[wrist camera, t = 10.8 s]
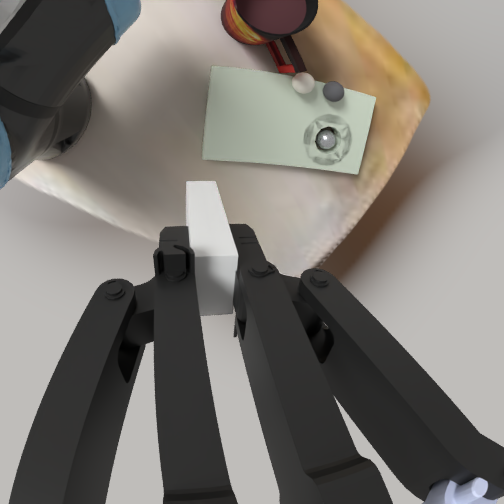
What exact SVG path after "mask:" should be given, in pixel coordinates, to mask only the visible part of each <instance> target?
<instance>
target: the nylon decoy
mask: <svg viewBox="0 0 504 504" xmlns="http://www.w3.org/2000/svg"><path fill="white" fill-rule="evenodd" d="M292 86H293V88H294V89H295V90H296V91H297V92H299V93H302V94H306V93H309V92H311V91H312V90H313V88H314V86H315V81H314V78H313V77H312V76H311V75H310V74H308V73H304V72H301V73H298V74H296V75H295V76H294V77H293V79H292Z"/></svg>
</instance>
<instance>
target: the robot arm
mask: <svg viewBox="0 0 504 504" xmlns="http://www.w3.org/2000/svg"><path fill="white" fill-rule="evenodd" d="M140 11H141V1H140V0H0V189H1V188H3V187H4V186H5V184H6V183H7V182H8V181H9V180H10V179H12V178H13V177H14V176H15V175H17V174H18V173H19V172H20V171H22V170H23V169H24V168H25V167H27V166H28V165H29V164H30V163H32V162H33V161H34V160H47V159H52V158H55V157H57V156H59V155H61V154H63V153H64V152H66V151H67V150H68V149H70V148H71V147H72V146H73V145H74V144H75V143H76V142H77V141H78V140H79V139H80V137H81V136H82V135H83V133H84V131H85V129H86V127H87V124H88V122H89V118H90V113H91V95H90V91H89V88H88V85H87V83H86V81H85V79H84V77H85V75H86V74H87V73H88V72H89V71H90V69H91V68H92V67H93V66H94V65H95V64H96V62H97V61H98V60H99V59H100V58H101V57H102V56H103V55H104V53H105V52H106V51H107V50H108V49H109V48H110V47H111V46H112V45H115V44H117V43H118V41H119V39H120V37H121V36H122V35H123V33H124V32H125V31H126V30H127V29H128V28H129V27H130V26H131V25H132V24H133V23H134V22H135V21H136V20H137V18H138V17H139V15H140ZM153 258H154V268H155V277H153V278H152V279H151V280H150V281H148V282H146V283H144V284H141V285H137V286H133V284H132V283H130V282H129V281H127V280H124V279H111V280H108V281H106V282H104V283H102V284H101V285H100V286H99V287H98V288H97V290H96V291H95V293H94V295H93V297H92V298H91V300H90V302H89V304H88V306H87V307H86V309H85V311H84V313H83V315H82V316H81V319H80V320H79V322H78V324H77V326H76V328H75V330H74V332H73V334H72V336H71V338H70V340H69V342H68V344H67V346H66V348H65V350H64V352H63V354H62V356H61V359H60V360H59V362H58V365H57V367H56V369H55V371H54V373H53V375H52V378H51V380H50V382H49V385H48V387H47V389H46V391H45V394H44V396H43V399H42V401H41V404H40V406H39V408H38V411H37V414H36V416H35V419H34V421H33V424H32V427H31V430H30V432H29V435H28V438H27V441H26V444H25V447H24V450H23V453H22V456H21V460H20V463H19V466H18V469H17V473H16V477H15V480H14V484H13V488H12V492H11V496H10V500H9V504H105V502H106V496H107V492H108V487H109V481H110V477H111V472H112V467H113V464H114V459H115V455H116V450H117V446H118V442H119V438H120V434H121V430H122V426H123V422H124V419H125V415H126V411H127V407H128V404H129V400H130V397H131V393H132V389H133V386H134V383H135V379H136V376H137V372H138V369H139V366H140V362H141V359H142V356H143V353H144V350H145V344H147V343H150V342H153V341H154V378H155V401H156V418H157V430H158V431H157V432H158V443H159V453H160V462H161V471H162V479H163V487H164V497H163V504H238V503H237V500H236V497H235V494H234V492H233V490H232V487H231V483H230V479H229V475H228V471H227V466H226V462H225V457H224V452H223V448H222V443H221V438H220V433H219V428H218V423H217V417H216V412H215V407H214V402H213V396H212V390H211V384H210V378H209V372H208V366H207V360H206V353H205V347H204V340H203V333H202V326H201V319H200V316H207V315H222V314H232V313H233V306H234V308H235V312H236V317H235V327H234V337H236V336H237V334H238V338H239V342H240V347H241V350H242V354H243V359H244V363H245V367H246V371H247V375H248V378H249V382H250V386H251V390H252V394H253V398H254V401H255V405H256V409H257V413H258V417H259V420H260V424H261V428H262V431H263V435H264V439H265V442H266V446H267V449H268V453H269V456H270V460H271V463H272V467H273V470H274V474H275V477H276V481H277V484H278V488H279V493H280V504H393V503H392V500H391V498H390V495H389V493H388V490H387V488H386V486H385V483H384V481H383V479H382V476H381V474H380V472H379V470H378V468H377V467H376V465H375V464H374V463H373V462H372V461H371V460H370V459H367V458H364V457H362V456H361V455H360V454H359V453H358V452H357V450H356V447H355V445H354V443H353V440H352V438H351V436H350V433H349V431H348V428H347V426H346V424H345V421H344V419H343V417H342V414H341V412H340V410H339V407H338V405H337V403H336V400H335V398H336V399H337V400H338V402H339V403H340V404H341V406H342V407H343V408H344V410H345V411H346V412H347V414H348V415H349V416H350V418H351V419H352V420H353V422H354V423H355V424H356V426H357V427H358V428H359V430H360V431H361V432H362V433H363V435H364V436H365V437H366V438H367V440H368V441H369V442H370V444H371V445H372V446H373V448H374V449H375V450H376V452H377V453H378V454H379V456H380V457H381V458H382V459H383V460H384V462H385V463H386V465H387V466H388V467H389V468H390V470H391V471H392V472H393V474H394V475H395V476H396V477H397V479H398V480H399V481H400V482H401V483H402V484H403V485H404V487H405V488H406V489H408V490H409V491H410V492H411V493H412V494H414V495H415V496H416V497H418V498H419V499H421V500H422V501H424V502H423V503H422V504H496V503H497V500H498V498H500V497H502V496H504V447H502V446H500V445H499V444H497V443H495V442H494V441H492V440H490V439H488V438H487V437H485V436H484V435H482V434H480V433H479V432H478V430H476V428H475V427H474V426H473V425H472V423H471V422H470V421H469V420H468V419H467V418H466V416H465V415H464V414H463V413H462V412H461V411H460V410H459V408H458V407H457V406H456V405H455V404H454V403H453V401H451V399H450V398H449V397H448V396H447V395H446V394H445V393H444V391H443V390H442V389H441V388H440V387H439V386H438V385H437V383H436V382H435V381H434V380H433V379H432V378H431V377H430V376H429V375H428V374H427V372H426V371H425V370H424V369H423V368H422V367H421V366H420V365H419V364H418V363H417V362H416V361H415V359H414V358H413V357H412V356H411V355H410V354H409V353H408V352H407V351H406V350H405V349H404V348H403V347H402V345H401V344H399V342H398V341H397V340H396V339H395V338H394V337H393V336H392V335H391V334H390V333H389V332H388V331H387V330H386V329H385V328H384V327H383V326H382V325H381V323H380V322H379V321H378V320H377V319H376V318H375V317H374V316H373V315H372V314H371V313H370V312H369V311H368V310H367V309H366V308H365V307H364V306H363V305H362V304H361V303H360V302H359V301H358V300H357V299H356V298H355V297H354V296H353V295H352V294H351V293H350V292H349V291H348V290H347V289H346V288H345V287H344V286H343V285H342V284H341V283H340V282H339V281H338V280H337V279H336V278H335V277H334V276H333V275H332V274H330V273H329V272H327V271H325V270H322V269H316V268H313V269H308V270H305V271H304V272H303V273H302V274H301V278H297V277H291V276H286V275H282V274H280V273H279V271H278V269H277V268H276V267H275V266H274V265H273V264H271V263H270V262H267V261H266V258H265V256H264V254H263V251H262V249H261V247H260V244H259V242H258V240H257V238H256V235H255V233H254V230H253V229H252V228H250V227H249V226H248V225H247V224H229V223H228V220H227V217H226V214H225V210H224V207H223V204H222V201H221V197H220V194H219V191H218V187H217V184H216V181H186V226H175V227H165V228H164V229H163V230H162V231H161V233H160V240H159V248H157V249H156V250H155V252H154V254H153ZM324 323H325V324H326V325H327V326H328V327H327V326H326V325H325V324H324ZM333 395H334V396H335V398H334V396H333Z"/></svg>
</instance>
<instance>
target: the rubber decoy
mask: <svg viewBox="0 0 504 504" xmlns="http://www.w3.org/2000/svg"><path fill="white" fill-rule="evenodd" d="M323 95H324V97H325V98H326V99H327V100H329V101H331V102H337V101H340V100H341V99H342V98H343V96H344V88H343V86H342V85H341V84H340V83H338V82H335V81H331V82H328V83H326V84H325V85H324V87H323Z"/></svg>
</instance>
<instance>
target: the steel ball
mask: <svg viewBox="0 0 504 504" xmlns="http://www.w3.org/2000/svg"><path fill="white" fill-rule="evenodd" d="M316 142H317V144H318V146H319V147H321V148H323V149H330V148H332V147H333V146H334V145H335V142H336V138H335V135H334V134H333V133H332V132H331V131H329V130H322V131H320V132H319V133H318V134H317V136H316Z"/></svg>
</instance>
